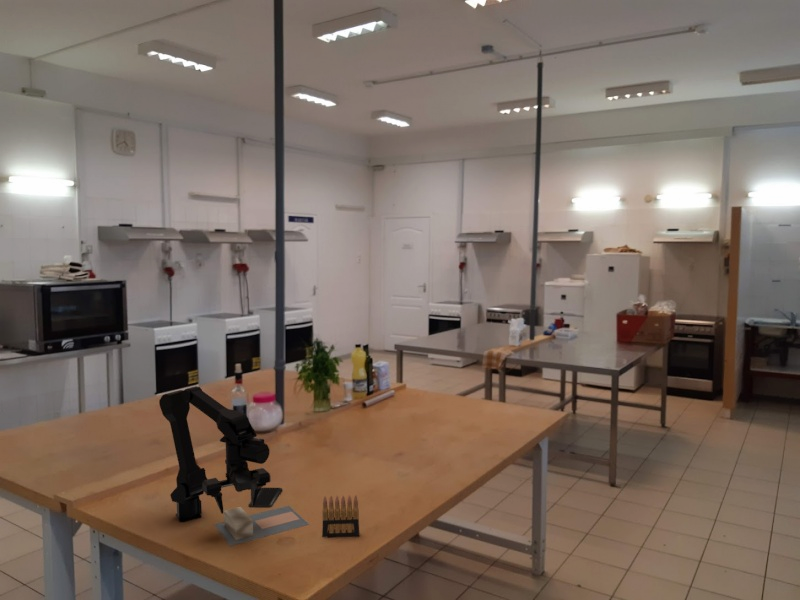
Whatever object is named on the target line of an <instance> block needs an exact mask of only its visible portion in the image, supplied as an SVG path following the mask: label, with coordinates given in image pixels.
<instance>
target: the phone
mask: <svg viewBox="0 0 800 600" xmlns="http://www.w3.org/2000/svg"><path fill="white" fill-rule="evenodd" d="M282 493H283V488H282V487H262V488H261V489H260V491H259V493H258V496H257V499H256V502H255V505H254V506H252V504H251V501H250V502H249V503H248V507H249V508H264V509H265V508H268V509H269V508H272V507H273V506H274V504H275V503H276V502H277V500H278V498H279V497H280V496H281V495H282Z"/></svg>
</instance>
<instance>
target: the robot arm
mask: <svg viewBox="0 0 800 600" xmlns="http://www.w3.org/2000/svg"><path fill="white" fill-rule="evenodd" d="M158 403H159V404H158V405H159V407H160V411H161V413H162V415H163V417H164V418H165V419H166V420H167V421H168V422H169V424H170V428H171V434H172V439H173V444H174V448H175V454H176V457H177V462H178V467H179V469H178V472H177V475H176V487H175V488H174V490H173V491H172V492H171V493H170V499H171V502H174V503H176V513H175V517H176V519H177V520H178V522H179V523H185V522H188V521H192V520H197V519H202V513H203V509H202V500H201V499H200V496H202V495H203V494H205V495H206V496H210V497H211V498H214V500H215V502H216V504H217V507H218V510H219V511H220V513H221V514H222V515H224V504H223V492H222V488H226V487H230V486H233V487H234V489H235V491H236V492H238V493H241V492H243V491H247V490H249V491H250V502H251V504H252V506H254V505H255V502H256V499H257V496H258V493H259V491H260V489H261V488H264V487H265V486H267V484H268V483H270V482H271V473H270V472H268V471H267V470H266V469H265V468H263V467H261V468H257V469H251V470H250V468H249V465H248V462H250V463H255V464H260V465H263V464H265V463H266V462H267V461H268V459H269V456H270V447H269V445H268V444H267V443H265V439H264V438H256V437H257V436H258V435H257V433H256V431H255V429H254V427H253V426H252V424H251V422H250V420H249V416H247V415H246V414H244V413H243V412H241V411H238V410H235V409H230V408H227V407H226V406H224V405H223V404H221V403H220V402H218V401H217V400H216V399H214V398H213V397H211V396H210V395H208V394H207V393H206V392H204V391H203V389H202V388H201V387H200V386H196V385H195V386H192V387H189V388H188V387H187V388H185V389H184V390H183V389H182V390H181V389H179V390H175V391H171V392H167V393H164V394H162V395H161V397H160V399H159V402H158ZM190 404H191V405H192V406H194V407H195V408H196V409H197V410H199V411H200V412H202V413H203V414H204V415H206V416H207V417H209V419H211V420H212V421H214V422H215V423H216V427H217V429H218V431H220V432H221V434H222V435H223V436H222V437H221V438H220V439H219V442H220V443H225V460H224V461H225V467H226V470H225V471H226V473H225V478H226V479H223V480H218V478H217V477H213V478H208V477H207V474H206V469H205V467H202V468H201V467H200V466H199V465H198V464H197V461H196V457H195V452H194V451H195V450H194V447H193V442H192V438H191V437H192V436H191V432H190V428H189V427H190V426H189V423H188V415H189V411H190V409H191V407H190V406H191V405H190ZM243 433H244V434H243ZM238 435H239V436H238Z"/></svg>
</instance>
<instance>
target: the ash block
mask: <svg viewBox="0 0 800 600" xmlns="http://www.w3.org/2000/svg"><path fill="white" fill-rule="evenodd" d="M223 515H224V516H223V519H224V521H223V522H225V526H226V528H227V529H228V530H229V532H230V533H231V534H232V535H233V537H234V538H235V539H236V540H238V539H242V538H245V537H249V536H253V520H252V519H251V518H250V517H249V515H248V513H247V512H246V511H245V510H244V509H243V508H242V507H241V506H239V507H235V508H229V509H226V510H223Z"/></svg>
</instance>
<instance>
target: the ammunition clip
mask: <svg viewBox="0 0 800 600" xmlns="http://www.w3.org/2000/svg"><path fill="white" fill-rule="evenodd" d="M322 500H323V501H322V517H321V518H322V530H321V531H322V532H321V534H322V535H321V537H323V538H324V537H326V538H328V539H330V538H351V537H352V538H354V537H355V538H356V537H358V538H359V537H360V516H359V513H360V512H359V499H358V496H357V495H356V494H354V498H353V503H352V497H351V495H349V494H348V498H347V503H346V498H345V496H344V495H342V497H341V503H340V499H339V496H338V495H336V497H335V500H334V499H333V496H332V495H330V498H329V499H327V496H326V495H325V496H324V497H323V499H322ZM328 501H329V502H328ZM334 501H335V503H334ZM334 504H335V505H334ZM340 504H341V505H340ZM346 504H347V506H346Z"/></svg>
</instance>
